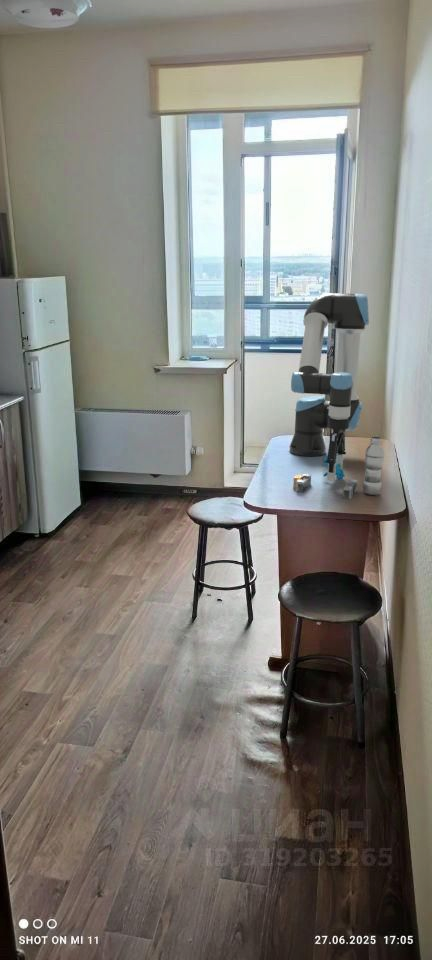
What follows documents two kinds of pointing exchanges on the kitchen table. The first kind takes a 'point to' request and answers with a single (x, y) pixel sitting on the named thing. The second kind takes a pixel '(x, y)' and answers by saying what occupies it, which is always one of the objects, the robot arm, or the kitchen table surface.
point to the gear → (338, 471)
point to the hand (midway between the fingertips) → (334, 476)
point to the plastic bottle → (373, 467)
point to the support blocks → (305, 481)
